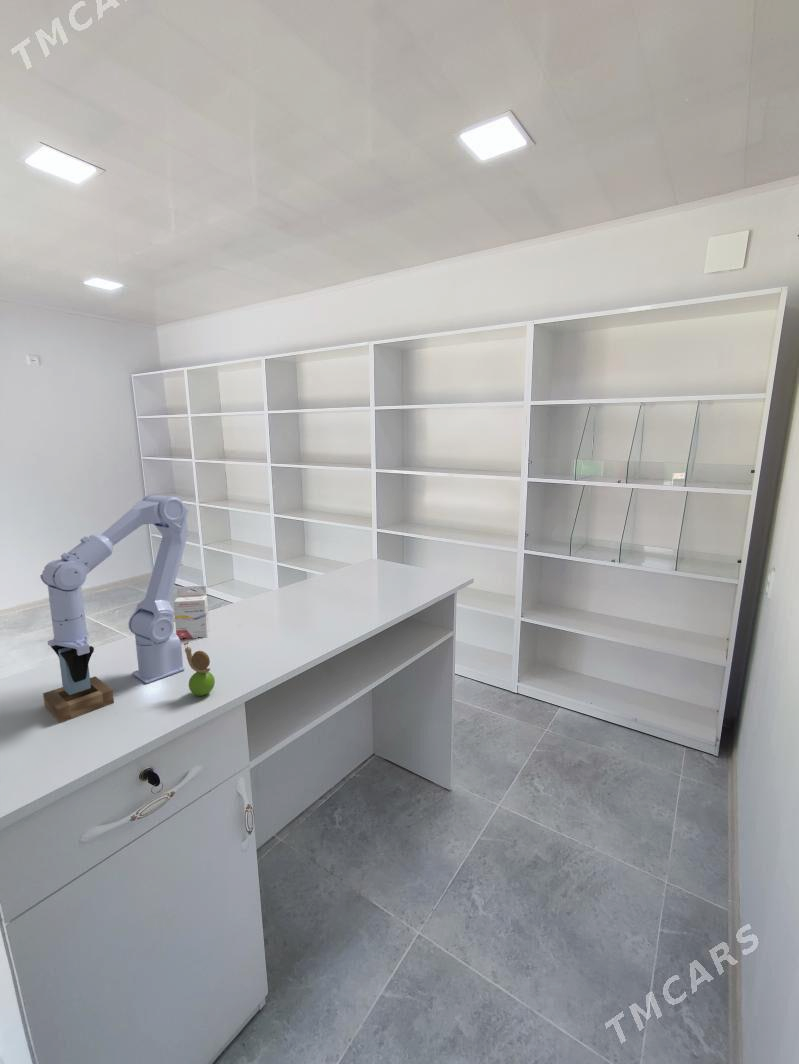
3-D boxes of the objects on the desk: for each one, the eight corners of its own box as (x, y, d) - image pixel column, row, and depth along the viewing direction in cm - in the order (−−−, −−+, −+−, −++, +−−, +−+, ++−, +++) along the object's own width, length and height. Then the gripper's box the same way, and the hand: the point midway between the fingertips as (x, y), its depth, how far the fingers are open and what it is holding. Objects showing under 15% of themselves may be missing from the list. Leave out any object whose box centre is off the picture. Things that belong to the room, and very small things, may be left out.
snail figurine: (197, 686, 111) (193, 637, 108) (220, 690, 109) (217, 640, 107) (180, 697, 105) (176, 646, 103) (204, 702, 104) (200, 650, 102)
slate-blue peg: (84, 682, 105) (79, 643, 103) (91, 687, 102) (86, 648, 101) (63, 689, 101) (58, 649, 100) (69, 695, 99) (64, 654, 97)
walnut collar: (96, 688, 109) (95, 676, 109) (114, 702, 103) (112, 690, 103) (44, 706, 102) (43, 693, 101) (60, 722, 96) (58, 709, 95)
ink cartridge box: (176, 640, 137) (171, 591, 135) (179, 634, 142) (175, 586, 139) (207, 637, 139) (204, 589, 137) (210, 631, 144) (206, 584, 141)
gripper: (35, 614, 101) (43, 673, 103) (57, 630, 91) (65, 695, 94) (73, 605, 106) (80, 662, 108) (97, 620, 97) (104, 682, 99)
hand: (76, 677), depth 101 cm, fingers closed on slate-blue peg, 4 cm apart
